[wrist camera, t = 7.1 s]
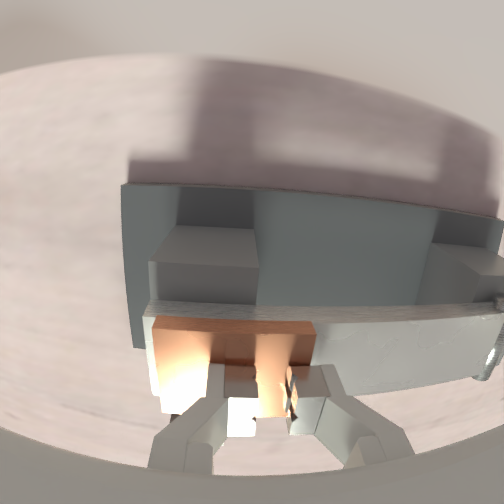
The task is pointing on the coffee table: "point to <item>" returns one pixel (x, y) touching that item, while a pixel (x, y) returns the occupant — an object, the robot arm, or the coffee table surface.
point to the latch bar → (319, 346)
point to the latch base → (300, 250)
